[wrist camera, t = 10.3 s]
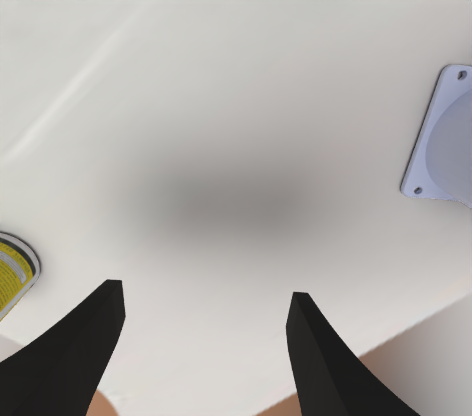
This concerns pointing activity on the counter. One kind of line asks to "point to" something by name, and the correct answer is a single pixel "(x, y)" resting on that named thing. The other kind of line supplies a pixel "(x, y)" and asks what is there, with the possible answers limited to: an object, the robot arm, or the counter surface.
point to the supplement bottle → (15, 272)
